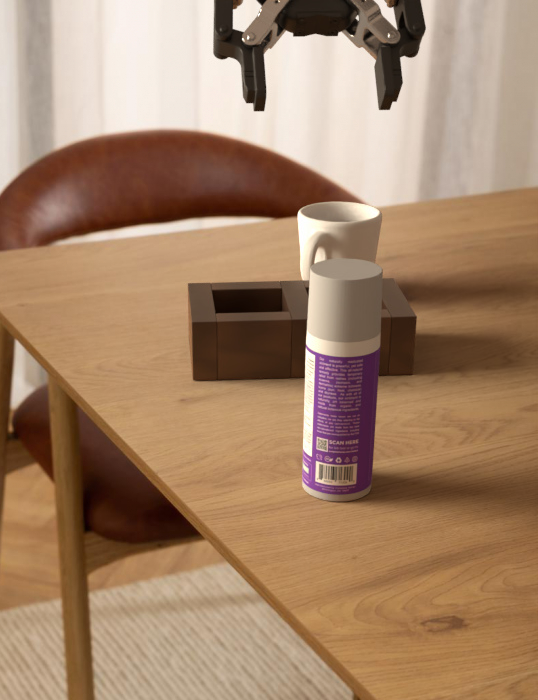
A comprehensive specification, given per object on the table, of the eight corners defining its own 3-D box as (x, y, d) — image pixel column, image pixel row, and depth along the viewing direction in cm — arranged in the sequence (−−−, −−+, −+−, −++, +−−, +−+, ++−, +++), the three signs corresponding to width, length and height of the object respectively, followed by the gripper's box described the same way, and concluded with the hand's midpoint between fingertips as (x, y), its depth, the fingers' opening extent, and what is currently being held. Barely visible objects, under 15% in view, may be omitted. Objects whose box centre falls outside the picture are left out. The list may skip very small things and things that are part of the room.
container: (385, 485, 79) (400, 268, 73) (340, 509, 77) (351, 285, 70) (332, 463, 82) (341, 253, 76) (287, 485, 80) (292, 269, 73)
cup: (342, 320, 108) (346, 234, 105) (266, 306, 112) (267, 222, 108) (391, 288, 116) (396, 207, 113) (318, 275, 120) (321, 197, 116)
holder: (390, 332, 106) (393, 277, 103) (412, 374, 97) (417, 316, 94) (188, 337, 105) (187, 283, 102) (192, 380, 96) (191, 322, 94)
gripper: (208, -136, 80) (220, 70, 75) (417, -136, 80) (442, 67, 76) (204, -55, 87) (215, 138, 82) (396, -56, 88) (417, 135, 83)
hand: (324, 104), depth 79 cm, fingers open, 8 cm apart
